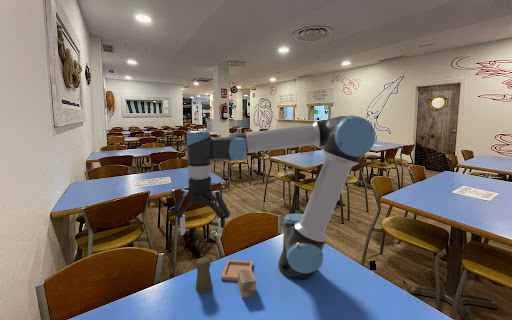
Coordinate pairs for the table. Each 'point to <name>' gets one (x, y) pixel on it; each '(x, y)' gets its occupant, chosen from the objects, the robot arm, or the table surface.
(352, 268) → the table surface
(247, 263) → the terracotta dish
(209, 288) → the cork
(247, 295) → the oak block
